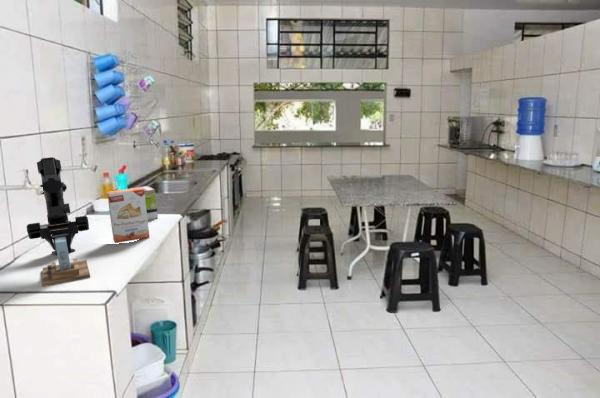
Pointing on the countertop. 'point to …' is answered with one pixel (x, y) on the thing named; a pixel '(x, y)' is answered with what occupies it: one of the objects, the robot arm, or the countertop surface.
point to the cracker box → (128, 214)
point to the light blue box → (62, 253)
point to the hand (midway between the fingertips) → (61, 248)
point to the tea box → (150, 202)
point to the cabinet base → (65, 273)
